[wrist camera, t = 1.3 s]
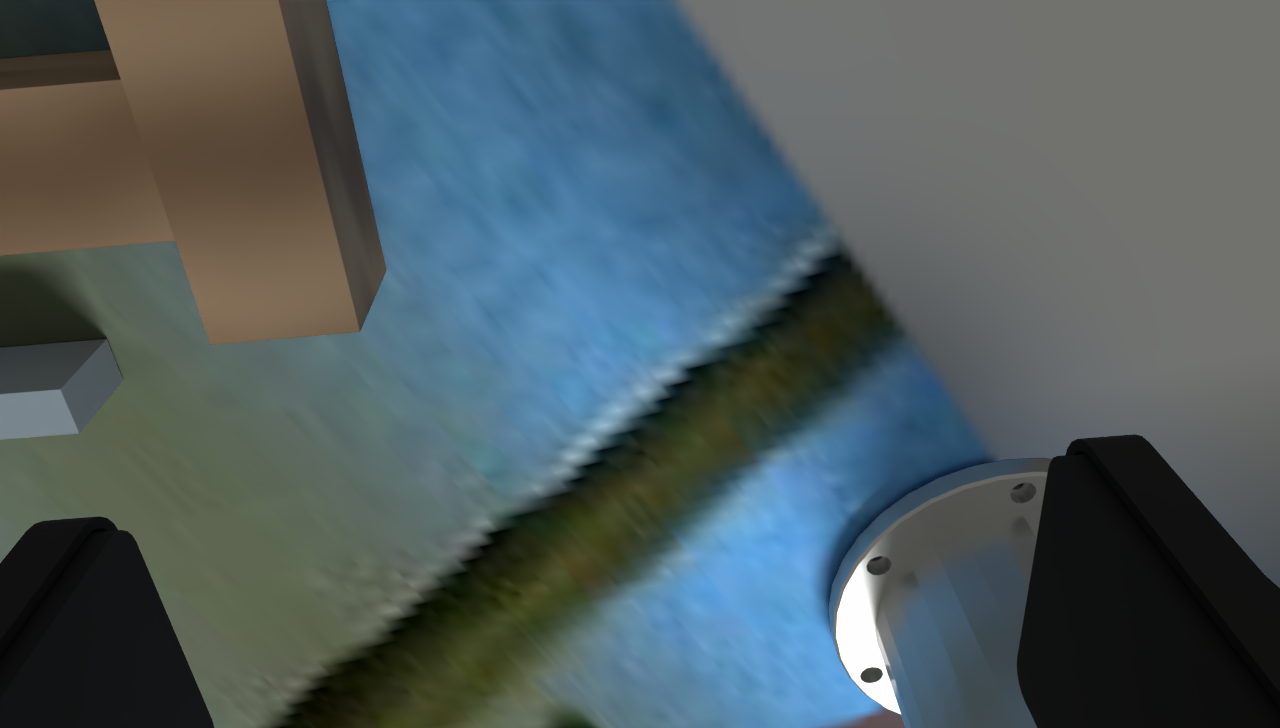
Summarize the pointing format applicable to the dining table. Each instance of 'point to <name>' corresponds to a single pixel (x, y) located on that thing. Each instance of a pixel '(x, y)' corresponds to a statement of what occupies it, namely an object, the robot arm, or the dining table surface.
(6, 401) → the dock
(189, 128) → the t block
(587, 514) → the dining table surface
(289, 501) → the dining table surface
